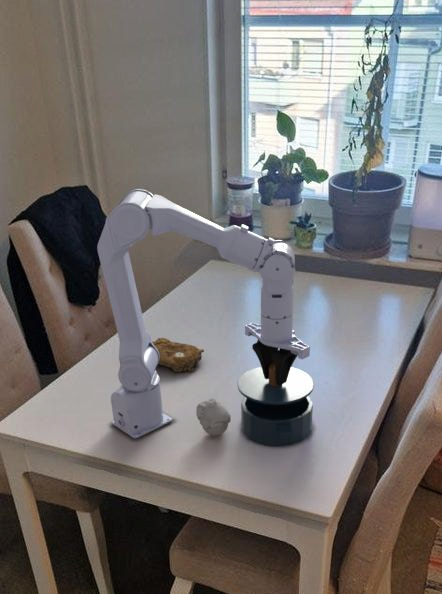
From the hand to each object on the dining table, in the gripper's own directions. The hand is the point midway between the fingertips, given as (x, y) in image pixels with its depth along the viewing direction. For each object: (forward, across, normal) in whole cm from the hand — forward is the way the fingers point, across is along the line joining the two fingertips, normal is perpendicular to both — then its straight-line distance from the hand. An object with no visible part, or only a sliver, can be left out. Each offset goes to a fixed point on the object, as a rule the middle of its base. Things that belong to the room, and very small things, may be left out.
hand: (275, 380), depth 127 cm
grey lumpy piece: (+10, +6, +10) cm, 16 cm away
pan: (+10, -1, 0) cm, 10 cm away
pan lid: (+1, 0, 0) cm, 1 cm away
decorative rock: (+10, +36, -2) cm, 38 cm away
